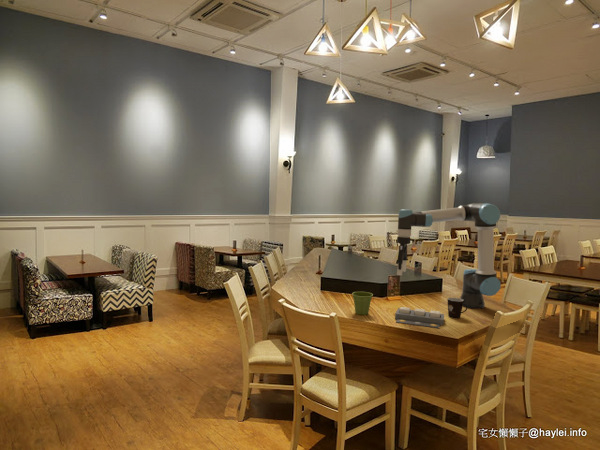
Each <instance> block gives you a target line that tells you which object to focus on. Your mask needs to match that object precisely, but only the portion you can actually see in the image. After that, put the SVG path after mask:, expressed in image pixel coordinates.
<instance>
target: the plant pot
mask: <svg viewBox="0 0 600 450" xmlns="http://www.w3.org/2000/svg"><path fill="white" fill-rule="evenodd" d="M351 295H352V297H353V303H354V312H355V314H356V315H359V316H360V315H361V316H362V315H363V316H366V315H369V312H370V307H371V301H372V298H373V296H374V294H373V293H372V292H367V291H354V292H352V293H351Z"/></svg>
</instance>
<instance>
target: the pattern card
mask: <svg viewBox="0 0 600 450" xmlns="http://www.w3.org/2000/svg"><path fill="white" fill-rule="evenodd" d="M395 322H396V324H402V325H403V324H405V325H412V326H418V327H424V328H425V327H426V328H432V329H440V328H439V327H440V326H441V325H440V324H433V323H426V322H419V321H411V320H404V319H396V321H395Z"/></svg>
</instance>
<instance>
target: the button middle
mask: <svg viewBox="0 0 600 450" xmlns="http://www.w3.org/2000/svg"><path fill="white" fill-rule="evenodd" d="M414 310H415V315H421V316H424V315H425V312H426V309H422V308H415V309H414Z"/></svg>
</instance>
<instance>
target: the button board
mask: <svg viewBox="0 0 600 450" xmlns="http://www.w3.org/2000/svg"><path fill="white" fill-rule="evenodd" d="M400 308H401V307H400ZM400 308H399V307H398V308H397V310H396V312H395V314H394V319H395V320H397V319H404V320H411V321H419V322H426V323H433V324H440V326H443V325H444V320H445V314H444V313H440V318H437V317H430V311H425V315H424V316H421V315H415V309H410V313H409V314H406V313H400Z"/></svg>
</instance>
